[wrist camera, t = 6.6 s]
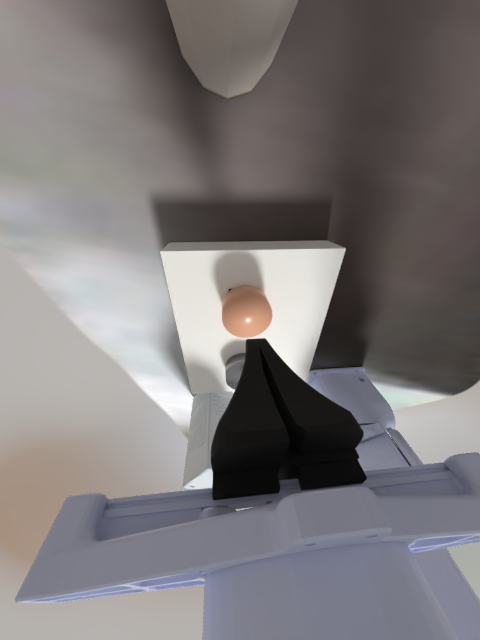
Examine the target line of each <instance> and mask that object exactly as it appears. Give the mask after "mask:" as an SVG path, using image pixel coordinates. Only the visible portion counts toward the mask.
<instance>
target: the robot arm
mask: <svg viewBox="0 0 480 640" xmlns="http://www.w3.org/2000/svg"><path fill="white" fill-rule="evenodd" d="M364 371H365V368H364V367H350V368H335V369H320V370H310V371H309V373H308V377H307V380H306V382H305V381H304V380H302V379H301V378H300V377H299V376H298V375H297V374H296V373H295V372H294V371H293V370H292V369H291V368H290V367H289V366H288V365H287V364H286V363H285V362H284V361H283V360H282V359H281V358H280V356H279V355H278V354H277V353H276V352H275V350H274V349H273V348H272V346H271V345H270V344H269V342H268V341H267V339H265V338H259V339H247V340H246V351H245V362H244V366H243V370H242V373H241V376H240V379H239V382H238V385H237V387H236V389H235V392H234V394H233V396H232V398H231V400H230V402H229V404H228V406H227V408H226V410H225V412H224V413H223V415H222V417H221V418H220V420H219V422H218V425H217V428H216V431H215V434H214V437H213V441H212V445H211V466H212V472H213V484H212V488H205V489H196V490H187V491H178V492H168V493H160V494H150V495H141V496H133V497H123V498H113V499H107V497H106V496H105V495H104V494H101V493H89V494H80V495H70V496H68V497H67V498H66V500H65V501H64V503H63V505H62V507H61V509H60V511H59V513H58V515H57V517H56V519H55V521H54V523H53V525H52V527H51V529H50V531H49V533H48V535H47V537H46V539H45V541H44V543H43V545H42V547H41V549H40V550H39V553H38V555H37V556H36V558H35V560H34V563H33V564H32V566H31V568H30V570H29V572H28V574H27V576H26V578H25V580H24V582H23V584H22V586H21V588H20V590H19V592H18V594H17V596H16V598H15V601H16V602H23V603H62V602H68V601H76V600H83V599H90V598H98V597H105V596H114V595H122V594H130V593H139V592H147V591H155V590H163V589H172V588H181V587H189V586H197V585H205V587H204V612H203V637H202V638H203V639H202V640H480V600H479V598H478V597H477V595H476V594H475V592H474V591H473V589H472V588H471V586H470V584H469V583H468V582H467V580H466V578H465V577H464V575H463V574H462V572H461V571H460V569H459V568H458V566H457V564H456V563H455V561H454V560H453V558H452V557H451V555H450V554H449V552H448V550H447V547H452V546H458V545H463V544H469V543H476V542H480V454H479V453H476V452H475V453H466V454H458V455H454V456H451V457H449V458H448V459H446V460H445V461H444V463H435V464H425V465H423V463H422V462H421V461H420V459H419V458H418V456H417V455H416V454H415V453H414V451H413V450H412V448H411V447H410V446H409V445H408V443H407V442H406V441H405V439H404V438H403V437H402V435H401V434H400V433H399V432H398V431H397V430H394V429H395V417H394V414H393V411H392V409H391V407H390V406H389V404H388V403H387V401H386V400H385V399H384V398H383V396H382V395H381V394H380V393H379V391H378V390H377V389H376V388H375V386H374V385H373V384H372V383H371V381H370V380H369V379H368V378H367V376H366V375H365V374H364ZM389 435H390V436H391V438H392V439H391V438H390V436H389ZM393 441H394V442H395V443H394V442H393ZM395 444H396V445H397V446H396V445H395ZM249 507H254V508H249ZM241 508H249V509H245V510H240V511H236V510H235V509H241Z"/></svg>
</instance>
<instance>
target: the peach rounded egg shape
mask: <svg viewBox="0 0 480 640" xmlns="http://www.w3.org/2000/svg"><path fill="white" fill-rule="evenodd" d="M271 321H272V309H271V306H270V304H269V302H268V300H267V298H266V295H265V294H264V293H263V291H261V290H260V289H259V288H257V287H255V286H251V285H242V286H238V287H235V288H233V289H232V290H230V291H229V292H228V293H227V294H226V295H225V297H224V299H223V302H222V322H223V325H224V327H225V329H226V330H227V331H228V332H229V333H231V334H232V335H234V336H237V337H241V338H249V337H254V336H257V335H259V334H261V333H262V332H264V331H265V330H266V329H267V328H268V326H269V325H270V323H271Z"/></svg>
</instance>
